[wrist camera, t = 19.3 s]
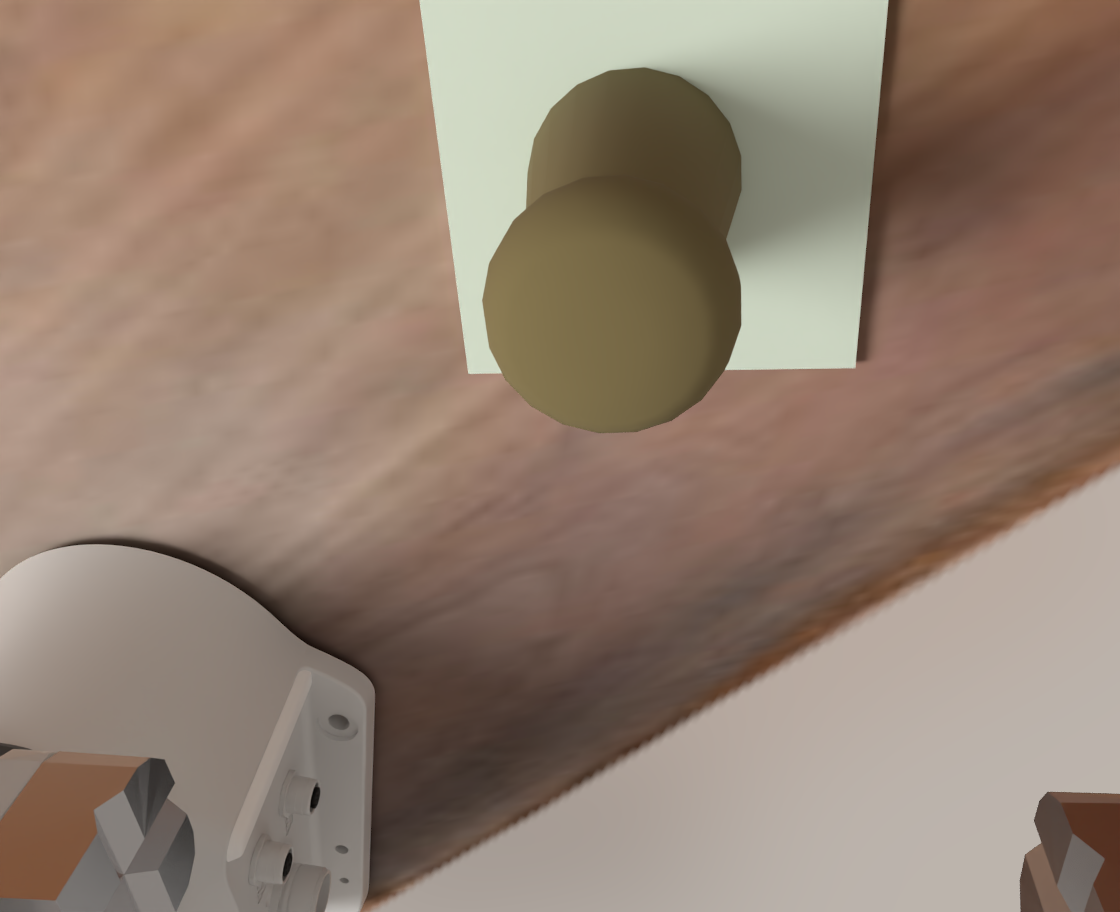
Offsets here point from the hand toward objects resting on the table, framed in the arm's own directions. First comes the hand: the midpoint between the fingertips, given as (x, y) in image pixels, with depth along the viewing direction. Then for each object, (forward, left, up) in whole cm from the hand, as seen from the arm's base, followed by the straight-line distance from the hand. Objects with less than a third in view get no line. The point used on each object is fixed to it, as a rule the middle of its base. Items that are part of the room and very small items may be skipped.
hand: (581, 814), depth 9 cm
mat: (0, 0, -22) cm, 22 cm away
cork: (0, +1, -22) cm, 22 cm away
